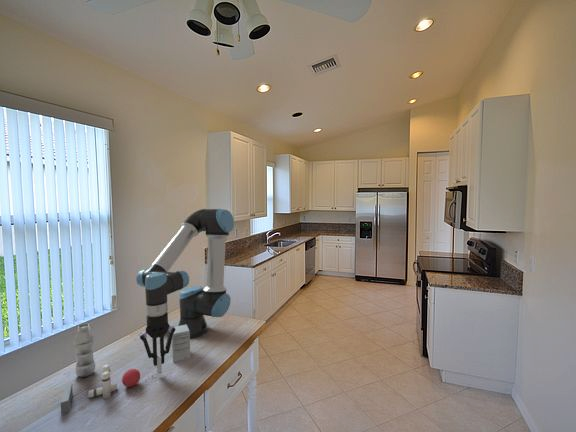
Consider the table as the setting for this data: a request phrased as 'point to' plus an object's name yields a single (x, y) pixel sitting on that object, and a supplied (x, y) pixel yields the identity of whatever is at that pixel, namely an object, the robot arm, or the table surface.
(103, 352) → the table surface
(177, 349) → the supplement box
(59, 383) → the table surface
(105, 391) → the pin
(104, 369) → the pin
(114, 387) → the front pin
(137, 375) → the ball
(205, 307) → the robot arm
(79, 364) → the plastic bottle
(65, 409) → the back wall
